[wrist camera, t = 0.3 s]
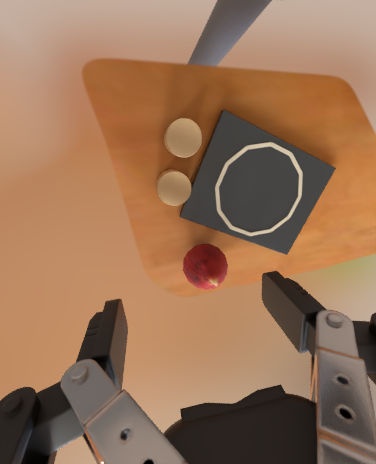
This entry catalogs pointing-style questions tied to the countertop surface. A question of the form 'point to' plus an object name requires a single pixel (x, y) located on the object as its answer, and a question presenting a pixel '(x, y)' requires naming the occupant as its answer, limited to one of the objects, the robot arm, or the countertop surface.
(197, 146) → the dot
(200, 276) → the onion
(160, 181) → the dot
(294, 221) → the slate board
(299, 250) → the countertop surface
